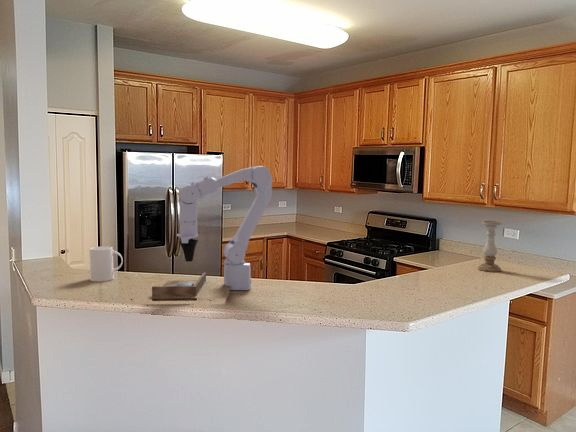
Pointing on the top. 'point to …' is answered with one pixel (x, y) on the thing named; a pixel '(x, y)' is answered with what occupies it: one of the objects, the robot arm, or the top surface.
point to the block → (186, 284)
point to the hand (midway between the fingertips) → (189, 261)
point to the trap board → (178, 290)
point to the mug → (102, 263)
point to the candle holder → (490, 248)
